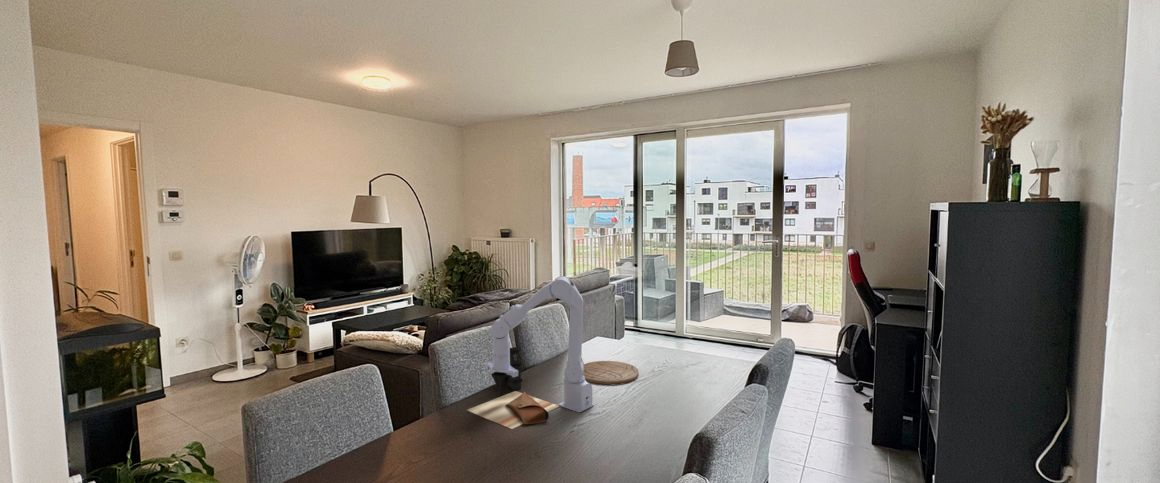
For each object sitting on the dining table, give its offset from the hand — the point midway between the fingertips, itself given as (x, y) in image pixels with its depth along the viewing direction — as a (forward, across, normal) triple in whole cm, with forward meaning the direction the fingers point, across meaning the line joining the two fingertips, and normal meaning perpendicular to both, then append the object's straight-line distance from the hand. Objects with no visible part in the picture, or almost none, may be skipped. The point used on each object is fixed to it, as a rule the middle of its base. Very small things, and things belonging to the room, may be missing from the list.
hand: (502, 393), depth 163 cm
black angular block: (+4, -12, +15) cm, 20 cm away
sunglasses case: (+4, +12, 0) cm, 13 cm away
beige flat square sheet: (+4, +6, 0) cm, 7 cm away
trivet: (+5, +10, +48) cm, 49 cm away
